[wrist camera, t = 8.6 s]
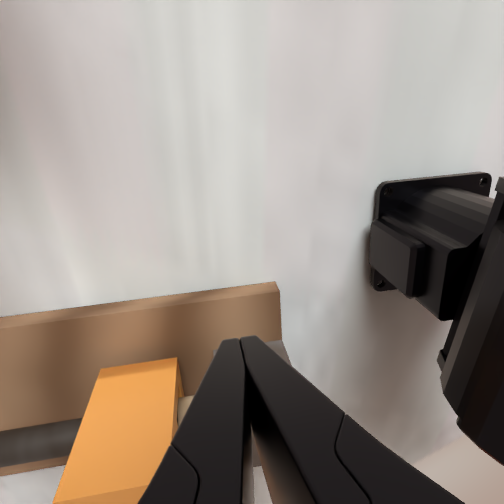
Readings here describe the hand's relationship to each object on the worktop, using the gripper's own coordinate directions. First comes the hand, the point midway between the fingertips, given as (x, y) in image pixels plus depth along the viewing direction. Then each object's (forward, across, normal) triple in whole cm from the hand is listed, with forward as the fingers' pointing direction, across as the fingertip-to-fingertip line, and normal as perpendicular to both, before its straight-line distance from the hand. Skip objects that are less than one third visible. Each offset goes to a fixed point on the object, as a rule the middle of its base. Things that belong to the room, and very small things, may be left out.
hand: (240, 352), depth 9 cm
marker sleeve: (+9, +5, +9) cm, 14 cm away
